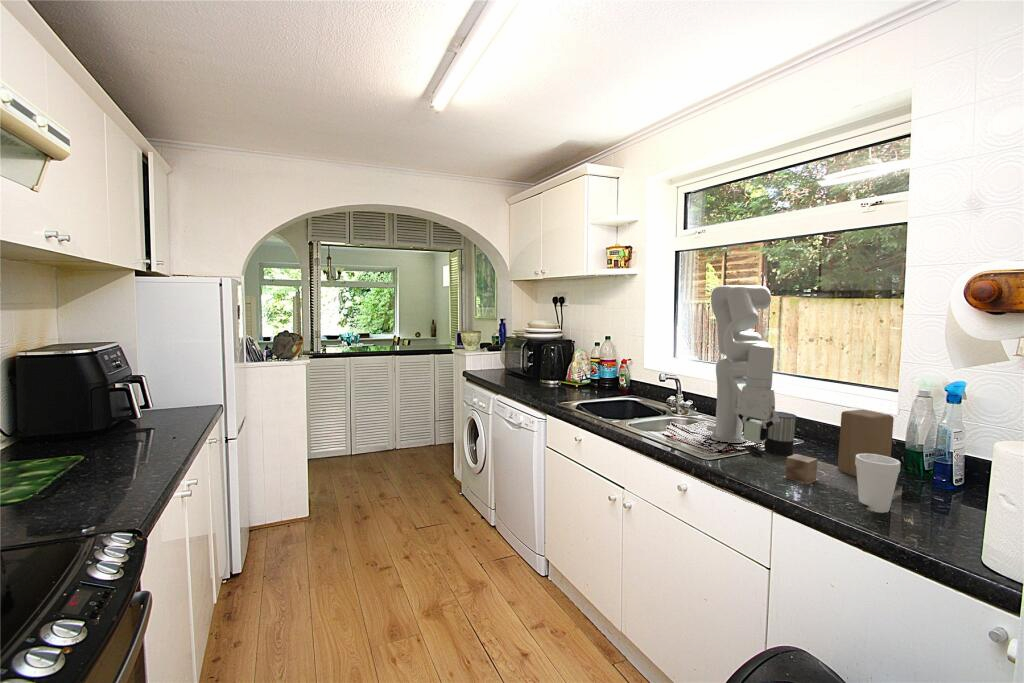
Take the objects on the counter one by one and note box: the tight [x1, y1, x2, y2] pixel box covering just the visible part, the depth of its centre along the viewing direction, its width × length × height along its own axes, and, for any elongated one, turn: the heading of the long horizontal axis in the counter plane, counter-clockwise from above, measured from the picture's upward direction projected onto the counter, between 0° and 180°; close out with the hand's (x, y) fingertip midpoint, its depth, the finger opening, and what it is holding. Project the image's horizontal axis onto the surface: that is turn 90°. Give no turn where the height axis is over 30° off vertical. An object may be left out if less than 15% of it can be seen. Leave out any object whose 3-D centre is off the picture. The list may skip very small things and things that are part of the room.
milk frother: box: [745, 410, 797, 459], centre depth 176 cm, size 14×16×15 cm
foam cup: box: [855, 454, 902, 514], centre depth 133 cm, size 10×9×13 cm
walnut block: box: [785, 453, 818, 484], centre depth 151 cm, size 6×6×6 cm
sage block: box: [742, 418, 766, 444], centre depth 167 cm, size 5×5×6 cm
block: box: [837, 409, 895, 477], centre depth 156 cm, size 10×10×20 cm
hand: (754, 436), depth 167 cm, fingers closed on sage block, 5 cm apart
